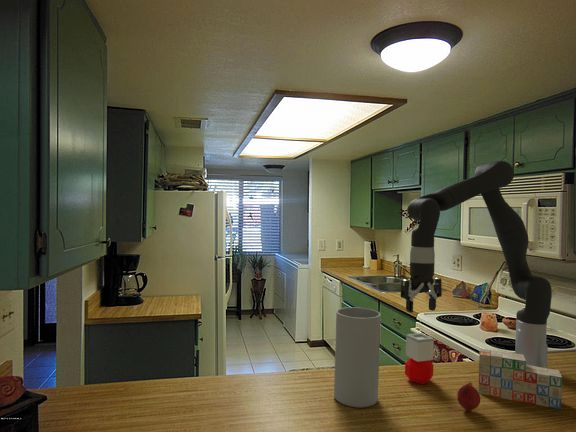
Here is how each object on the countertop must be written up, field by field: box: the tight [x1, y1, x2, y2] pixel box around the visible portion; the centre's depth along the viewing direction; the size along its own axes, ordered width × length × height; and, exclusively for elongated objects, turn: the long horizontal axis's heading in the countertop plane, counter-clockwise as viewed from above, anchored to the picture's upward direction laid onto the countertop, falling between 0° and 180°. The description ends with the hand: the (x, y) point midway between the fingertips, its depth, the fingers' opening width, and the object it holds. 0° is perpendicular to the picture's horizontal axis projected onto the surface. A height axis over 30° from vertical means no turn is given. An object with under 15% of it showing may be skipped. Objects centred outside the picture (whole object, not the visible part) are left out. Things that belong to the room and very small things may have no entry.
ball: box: [404, 357, 434, 385], centre depth 134 cm, size 8×8×8 cm
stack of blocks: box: [477, 347, 563, 410], centre depth 124 cm, size 21×6×12 cm, turn 64°
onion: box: [456, 381, 481, 412], centre depth 115 cm, size 6×6×8 cm
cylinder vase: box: [333, 306, 381, 409], centre depth 120 cm, size 12×12×25 cm
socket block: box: [405, 332, 435, 362], centre depth 134 cm, size 6×6×7 cm
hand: (420, 311), depth 134 cm, fingers open, 8 cm apart
